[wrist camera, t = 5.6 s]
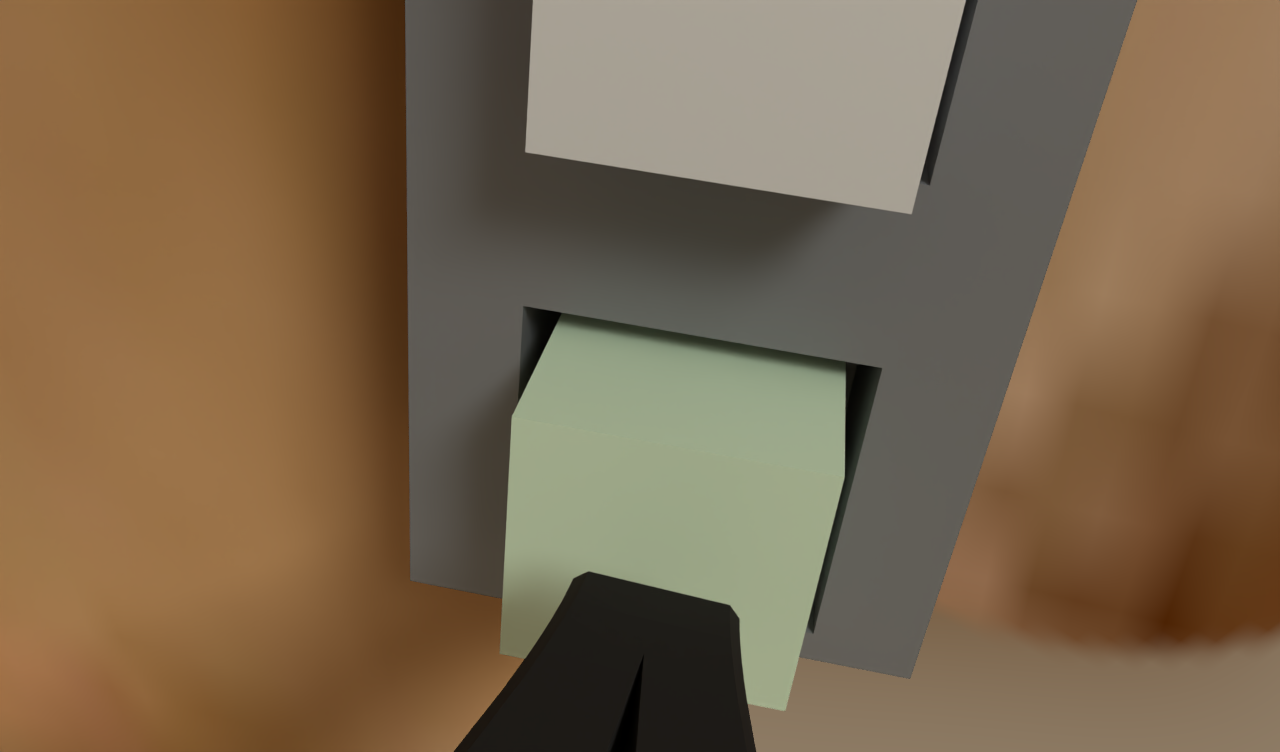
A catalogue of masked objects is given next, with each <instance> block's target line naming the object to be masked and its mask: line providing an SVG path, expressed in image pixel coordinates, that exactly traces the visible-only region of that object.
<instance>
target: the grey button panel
mask: <svg viewBox="0 0 1280 752" xmlns="http://www.w3.org/2000/svg"><path fill="white" fill-rule="evenodd" d="M1136 2H1137V0H966V2H965V6H964V10H963V14H962V18H961V22H960V26H959V29H958V33H957V37H956V41H955V45H954V49H953V53H952V57H951V61H950V65H949V69H948V73H947V77H946V81H945V85H944V89H943V92H942V96H941V100H940V104H939V108H938V112H937V116H936V120H935V124H934V128H933V132H932V136H931V140H930V144H929V148H928V151H927V155H926V159H925V163H924V167H923V171H922V175H921V179H920V183H919V187H918V191H917V195H916V199H915V203H914V207H913V211H912V214H907V213H900V212H894V211H888V210H882V209H875V208H869V207H863V206H857V205H851V204H844V203H838V202H832V201H826V200H819V199H813V198H807V197H801V196H795V195H788V194H782V193H776V192H770V191H764V190H757V189H751V188H745V187H739V186H732V185H726V184H720V183H714V182H708V181H701V180H695V179H689V178H683V177H676V176H670V175H664V174H658V173H652V172H645V171H639V170H633V169H627V168H620V167H614V166H608V165H602V164H596V163H589V162H583V161H577V160H571V159H564V158H558V157H552V156H546V155H540V154H533V153H527V152H525V147H526V128H527V108H528V88H529V69H530V49H531V30H532V10H533V0H405V41H406V153H407V264H408V376H409V488H410V581H415V582H420V583H425V584H430V585H435V586H440V587H445V588H450V589H455V590H460V591H466V592H471V593H476V594H481V595H486V596H491V597H496V598H501V599H502V598H503V578H504V559H505V539H506V520H507V500H508V480H509V461H510V441H511V422H512V415H513V413H514V411H515V409H516V407H517V405H518V403H519V401H520V399H521V397H522V395H523V392H524V390H525V388H526V386H527V384H528V382H529V380H530V378H531V376H532V374H533V372H534V370H535V368H536V366H537V364H538V362H539V359H540V357H541V355H542V353H543V351H544V349H545V347H546V345H547V343H548V341H549V339H550V337H551V335H552V333H553V331H554V328H555V326H556V324H557V322H558V320H559V318H560V316H561V314H562V313H567V314H573V315H579V316H585V317H590V318H596V319H602V320H608V321H613V322H619V323H625V324H631V325H637V326H642V327H648V328H654V329H660V330H666V331H671V332H677V333H683V334H689V335H694V336H700V337H706V338H712V339H718V340H723V341H729V342H735V343H741V344H746V345H752V346H758V347H764V348H770V349H775V350H781V351H787V352H793V353H798V354H804V355H810V356H816V357H822V358H827V359H833V360H839V361H845V362H846V393H845V478H844V482H843V486H842V490H841V494H840V498H839V502H838V506H837V510H836V514H835V517H834V521H833V525H832V529H831V533H830V537H829V541H828V545H827V549H826V553H825V557H824V561H823V565H822V569H821V573H820V576H819V580H818V584H817V588H816V592H815V596H814V600H813V604H812V608H811V612H810V616H809V620H808V624H807V628H806V632H805V635H804V639H803V643H802V647H801V651H800V655H799V657H802V658H807V659H812V660H817V661H822V662H827V663H832V664H837V665H842V666H848V667H852V668H857V669H862V670H867V671H873V672H878V673H883V674H888V675H893V676H898V677H903V678H908V679H910V678H911V675H912V672H913V669H914V666H915V663H916V660H917V657H918V654H919V651H920V648H921V645H922V642H923V639H924V636H925V633H926V630H927V627H928V624H929V621H930V618H931V615H932V612H933V609H934V606H935V603H936V600H937V597H938V594H939V591H940V588H941V585H942V582H943V579H944V576H945V573H946V570H947V567H948V564H949V561H950V558H951V555H952V552H953V549H954V546H955V543H956V540H957V537H958V534H959V531H960V528H961V525H962V522H963V519H964V516H965V513H966V510H967V507H968V504H969V501H970V498H971V495H972V492H973V489H974V486H975V483H976V480H977V477H978V474H979V471H980V468H981V465H982V462H983V459H984V456H985V453H986V451H987V448H988V445H989V442H990V439H991V436H992V433H993V430H994V427H995V424H996V421H997V418H998V415H999V412H1000V409H1001V406H1002V403H1003V400H1004V397H1005V394H1006V391H1007V388H1008V385H1009V382H1010V379H1011V376H1012V373H1013V370H1014V367H1015V364H1016V361H1017V358H1018V355H1019V352H1020V349H1021V346H1022V343H1023V340H1024V337H1025V334H1026V331H1027V328H1028V325H1029V322H1030V319H1031V316H1032V313H1033V310H1034V307H1035V304H1036V301H1037V298H1038V295H1039V292H1040V289H1041V286H1042V283H1043V280H1044V277H1045V274H1046V271H1047V268H1048V265H1049V262H1050V259H1051V256H1052V253H1053V250H1054V247H1055V244H1056V241H1057V238H1058V235H1059V232H1060V229H1061V226H1062V223H1063V220H1064V217H1065V214H1066V211H1067V208H1068V205H1069V202H1070V199H1071V196H1072V193H1073V190H1074V187H1075V184H1076V181H1077V178H1078V175H1079V172H1080V169H1081V166H1082V163H1083V160H1084V157H1085V154H1086V151H1087V148H1088V145H1089V142H1090V140H1091V137H1092V134H1093V131H1094V128H1095V125H1096V122H1097V119H1098V116H1099V113H1100V110H1101V107H1102V104H1103V101H1104V98H1105V95H1106V92H1107V89H1108V86H1109V83H1110V80H1111V77H1112V74H1113V71H1114V68H1115V65H1116V62H1117V59H1118V56H1119V53H1120V50H1121V47H1122V44H1123V41H1124V38H1125V35H1126V32H1127V29H1128V26H1129V23H1130V20H1131V17H1132V14H1133V11H1134V8H1135V5H1136Z"/></svg>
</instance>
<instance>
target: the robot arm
mask: <svg viewBox="0 0 1280 752" xmlns="http://www.w3.org/2000/svg"><path fill="white" fill-rule="evenodd" d="M454 752H756V748H755V744H754V738H753V732H752V726H751V721H750V715H749V710H748V704H747V697H746V690H745V683H744V675H743V667H742V657H741V645H740V618H739V617H738V616H737V614H736V613H735V611H734V610H733V609H732V607H731V606H730V605H728V604H723V603H719V602H715V601H711V600H707V599H703V598H698V597H694V596H690V595H686V594H682V593H677V592H673V591H669V590H665V589H661V588H657V587H652V586H648V585H644V584H640V583H636V582H632V581H627V580H623V579H619V578H615V577H611V576H606V575H602V574H598V573H594V572H590V571H588V572H586V573H583V574H581V575H579V576H577V577H575V578H573V580H572V582H571V584H570V586H569V588H568V590H567V592H566V594H565V596H564V598H563V600H562V602H561V603H560V605H559V607H558V608H557V610H556V612H555V614H554V615H553V617H552V619H551V620H550V622H549V623H548V625H547V627H546V628H545V630H544V631H543V633H542V634H541V636H540V637H539V639H538V640H537V642H536V643H535V645H534V646H533V648H532V649H531V651H530V652H529V654H528V655H527V656H526V658H525V659H524V661H523V662H522V663H521V665H520V666H519V668H518V669H517V670H516V672H515V673H514V675H513V676H512V677H511V679H510V680H509V682H508V683H507V684H506V686H505V687H504V688H503V690H502V691H501V692H500V694H499V695H498V696H497V697H496V699H495V700H494V701H493V702H492V704H491V705H490V706H489V708H488V709H487V710H486V711H485V713H484V714H483V715H482V716H481V718H480V719H479V720H478V721H477V723H476V724H475V725H474V726H473V728H472V729H471V730H470V732H469V733H468V734H467V735H466V737H465V738H464V739H463V740H462V742H461V743H460V744H459V745H458V747H457V748H456V749H455V751H454Z"/></svg>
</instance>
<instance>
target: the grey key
mask: <svg viewBox="0 0 1280 752" xmlns="http://www.w3.org/2000/svg"><path fill="white" fill-rule="evenodd" d="M965 2H966V0H533V10H532V30H531V49H530V69H529V88H528V108H527V128H526V147H525V152H527V153H533V154H540V155H546V156H552V157H558V158H564V159H571V160H577V161H583V162H589V163H596V164H602V165H608V166H614V167H620V168H627V169H633V170H639V171H645V172H652V173H658V174H664V175H670V176H676V177H683V178H689V179H695V180H701V181H708V182H714V183H720V184H726V185H732V186H739V187H745V188H751V189H757V190H764V191H770V192H776V193H782V194H788V195H795V196H801V197H807V198H813V199H819V200H826V201H832V202H838V203H844V204H851V205H857V206H863V207H869V208H875V209H882V210H888V211H894V212H900V213H907V214H912V211H913V207H914V203H915V199H916V195H917V191H918V187H919V183H920V179H921V175H922V171H923V167H924V163H925V159H926V155H927V151H928V148H929V144H930V140H931V136H932V132H933V128H934V124H935V120H936V116H937V112H938V108H939V104H940V100H941V96H942V92H943V89H944V85H945V81H946V77H947V73H948V69H949V65H950V61H951V57H952V53H953V49H954V45H955V41H956V37H957V33H958V29H959V26H960V22H961V18H962V14H963V10H964V6H965Z"/></svg>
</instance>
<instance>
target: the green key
mask: <svg viewBox="0 0 1280 752" xmlns="http://www.w3.org/2000/svg"><path fill="white" fill-rule="evenodd" d="M845 393H846V362H845V361H839V360H833V359H827V358H822V357H816V356H810V355H804V354H798V353H793V352H787V351H781V350H775V349H770V348H764V347H758V346H752V345H746V344H741V343H735V342H729V341H723V340H718V339H712V338H706V337H700V336H694V335H689V334H683V333H677V332H671V331H666V330H660V329H654V328H648V327H642V326H637V325H631V324H625V323H619V322H613V321H608V320H602V319H596V318H590V317H585V316H579V315H573V314H567V313H562V314H561V316H560V318H559V320H558V322H557V324H556V326H555V328H554V331H553V333H552V335H551V337H550V339H549V341H548V343H547V345H546V347H545V349H544V351H543V353H542V355H541V357H540V359H539V362H538V364H537V366H536V368H535V370H534V372H533V374H532V376H531V378H530V380H529V382H528V384H527V386H526V388H525V390H524V392H523V395H522V397H521V399H520V401H519V403H518V405H517V407H516V409H515V411H514V413H513V415H512V422H511V441H510V461H509V480H508V500H507V520H506V539H505V559H504V578H503V598H502V618H501V637H500V654H503V655H508V656H513V657H518V658H523V659H525V658H526V656H527V655H528V654H529V652H530V651H531V649H532V648H533V646H534V645H535V643H536V642H537V640H538V639H539V637H540V636H541V634H542V633H543V631H544V630H545V628H546V627H547V625H548V623H549V622H550V620H551V619H552V617H553V615H554V614H555V612H556V610H557V608H558V607H559V605H560V603H561V602H562V600H563V598H564V596H565V594H566V592H567V590H568V588H569V586H570V584H571V582H572V580H573V578H575V577H577V576H579V575H581V574H583V573H586V572H588V571H590V572H594V573H598V574H602V575H606V576H611V577H615V578H619V579H623V580H627V581H632V582H636V583H640V584H644V585H648V586H652V587H657V588H661V589H665V590H669V591H673V592H677V593H682V594H686V595H690V596H694V597H698V598H703V599H707V600H711V601H715V602H719V603H723V604H728V605H730V606H731V607H732V609H733V610H734V611H735V613H736V614H737V616H738V617H739V618H740V645H741V657H742V667H743V675H744V683H745V690H746V697H747V704H752V705H757V706H762V707H767V708H772V709H777V710H782V711H785V710H786V706H787V702H788V698H789V695H790V690H791V686H792V683H793V679H794V675H795V671H796V667H797V663H798V659H799V655H800V651H801V647H802V643H803V639H804V635H805V632H806V628H807V624H808V620H809V616H810V612H811V608H812V604H813V600H814V596H815V592H816V588H817V584H818V580H819V576H820V573H821V569H822V565H823V561H824V557H825V553H826V549H827V545H828V541H829V537H830V533H831V529H832V525H833V521H834V517H835V514H836V510H837V506H838V502H839V498H840V494H841V490H842V486H843V482H844V478H845Z"/></svg>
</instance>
